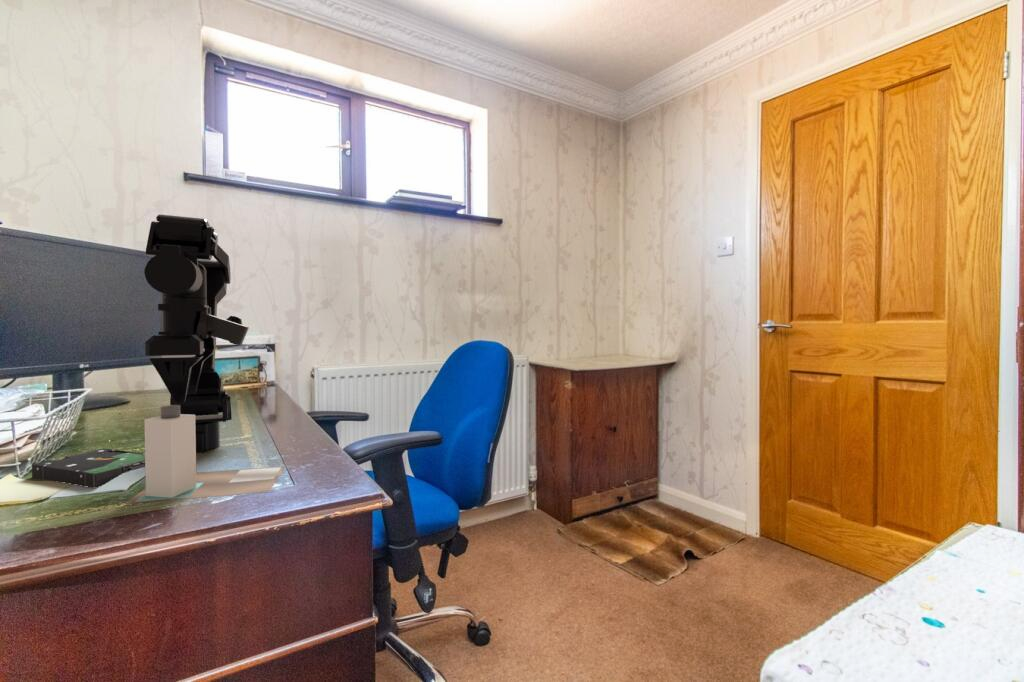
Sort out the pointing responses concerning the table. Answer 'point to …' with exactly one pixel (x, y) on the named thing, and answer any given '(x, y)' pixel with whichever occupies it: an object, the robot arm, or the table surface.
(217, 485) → the board
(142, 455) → the disk drive
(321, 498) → the table surface
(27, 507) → the table surface
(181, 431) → the capped white bottle
